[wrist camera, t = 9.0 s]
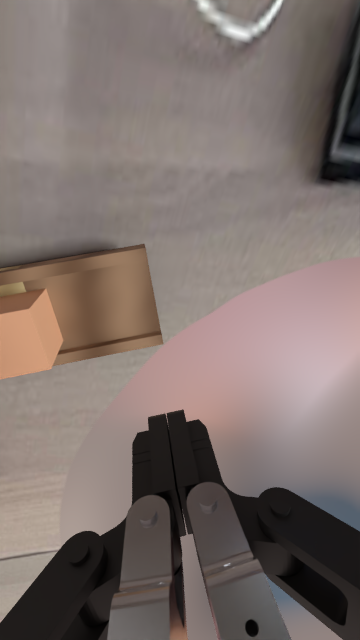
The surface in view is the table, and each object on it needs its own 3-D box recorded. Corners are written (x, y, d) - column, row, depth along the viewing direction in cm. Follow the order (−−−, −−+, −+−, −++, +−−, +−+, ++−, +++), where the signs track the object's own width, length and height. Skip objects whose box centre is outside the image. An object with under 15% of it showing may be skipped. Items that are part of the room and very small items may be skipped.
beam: (142, 238, 30) (145, 247, 26) (158, 323, 34) (163, 344, 29) (-120, 283, 29) (-168, 301, 24) (-74, 368, 32) (-108, 397, 28)
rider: (46, 288, 27) (29, 308, 22) (63, 340, 29) (51, 369, 24) (-40, 304, 26) (-75, 328, 22) (-16, 355, 28) (-44, 388, 24)
